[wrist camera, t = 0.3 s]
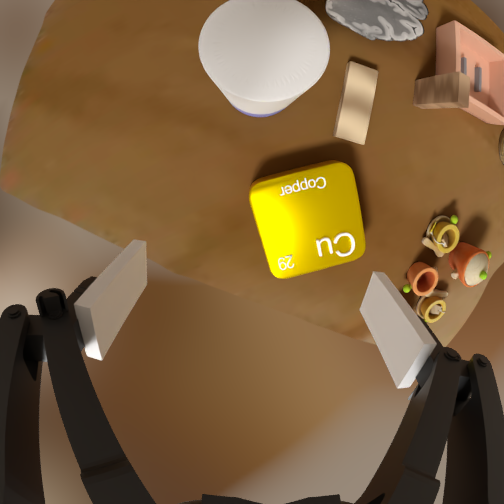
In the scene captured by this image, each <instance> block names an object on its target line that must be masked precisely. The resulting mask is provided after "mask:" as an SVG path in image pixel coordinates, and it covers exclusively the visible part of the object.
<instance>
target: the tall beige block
mask: <svg viewBox="0 0 504 504" xmlns="http://www.w3.org/2000/svg"><path fill="white" fill-rule="evenodd" d="M469 92H470V77H468V76H467V75H465V74H463V73H462V72H460V71H459V72H453V73H447V74H442V75H437V76H432V77H428V78H423V79H419V80H415V90H414V100H413V105H414V106H417V107H419V108H422V109H432V108H468V107H469Z"/></svg>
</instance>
